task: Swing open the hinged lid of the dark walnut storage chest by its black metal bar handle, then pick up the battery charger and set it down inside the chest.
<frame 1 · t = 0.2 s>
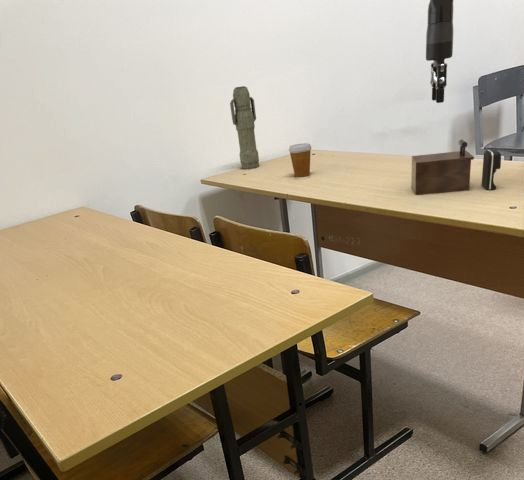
hand: (437, 101, 163), 27 cm above the table, tool pointing down, fingers open, 8 cm apart
stone idol statue: (250, 167, 255), on the table
lid: (441, 151, 172), point 12 cm above the table, hinge at 0.0°
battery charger: (490, 188, 171), on the table
disposable coffee cup: (302, 175, 224), on the table
chest: (439, 188, 177), on the table
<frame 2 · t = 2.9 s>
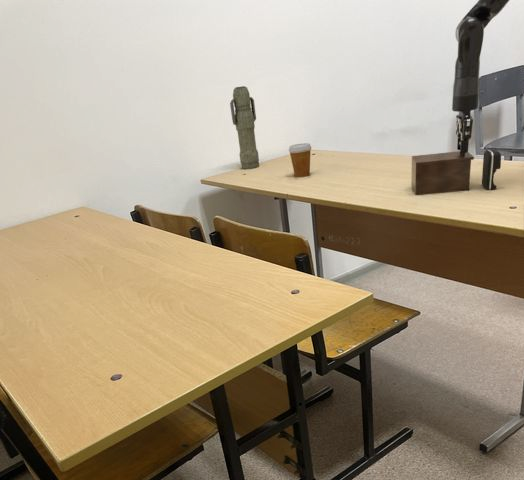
hand: (462, 150, 171), 11 cm above the table, tool pointing down, fingers closed on lid, 5 cm apart
lid: (441, 151, 172), point 12 cm above the table, hinge at 0.0°, touching gripper
everything else where it was.
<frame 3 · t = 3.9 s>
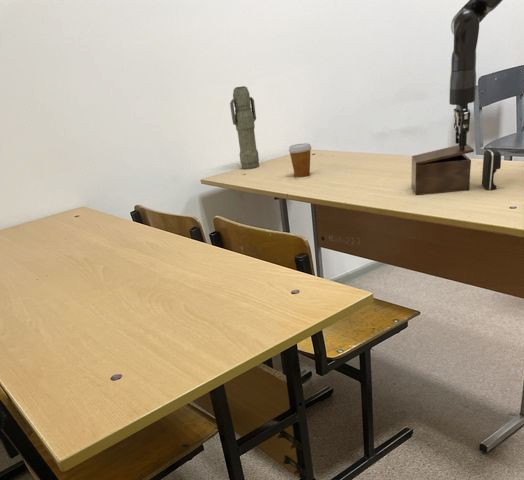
hand: (460, 144, 170), 13 cm above the table, tool pointing down, fingers closed on lid, 5 cm apart
lid: (440, 147, 171), point 13 cm above the table, hinge at 7.6°, touching gripper
everything else where it was.
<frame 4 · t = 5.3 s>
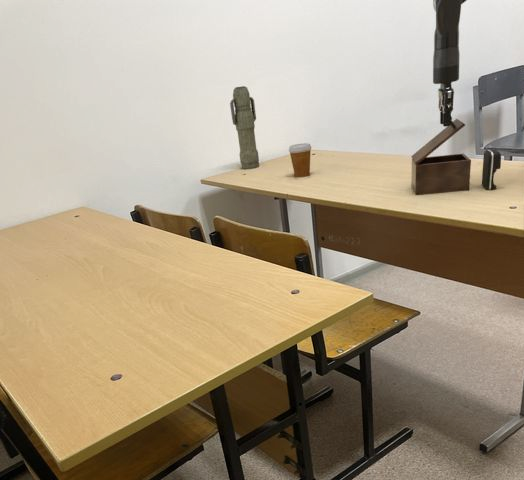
hand: (445, 124, 168), 20 cm above the table, tool pointing down, fingers closed on lid, 5 cm apart
lid: (433, 136, 170), point 17 cm above the table, hinge at 35.9°, touching gripper
everything else where it was.
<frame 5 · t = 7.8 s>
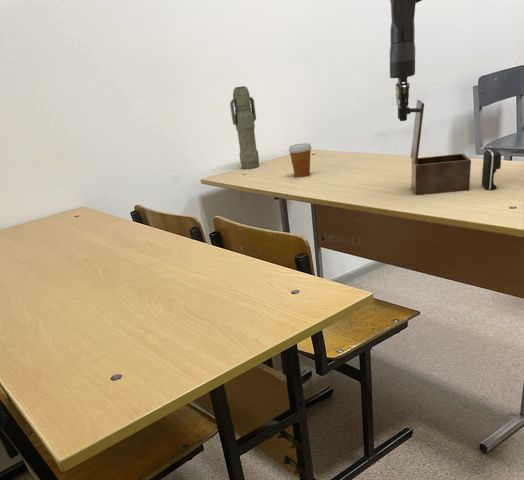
hand: (402, 119, 169), 23 cm above the table, tool pointing down, fingers closed on lid, 5 cm apart
lid: (410, 132, 170), point 19 cm above the table, hinge at 84.2°, touching gripper
everything else where it was.
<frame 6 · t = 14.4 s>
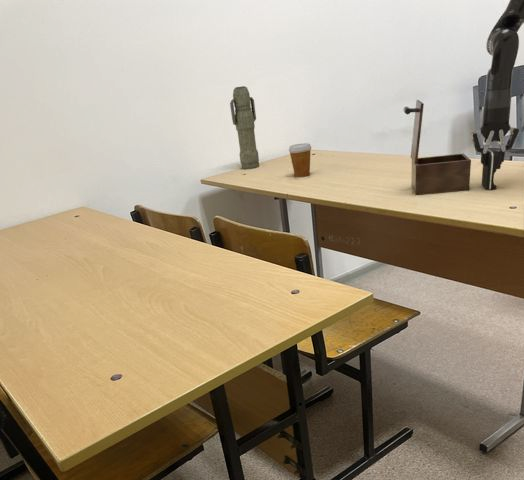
hand: (492, 164, 167), 7 cm above the table, tool pointing down, fingers closed on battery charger, 4 cm apart
lid: (410, 132, 170), point 19 cm above the table, hinge at 84.7°
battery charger: (490, 188, 171), on the table, touching gripper
everything else where it was.
when the fingers open (8 cm above the table, at t = 21.6 s): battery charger stays where it is, resting on chest.
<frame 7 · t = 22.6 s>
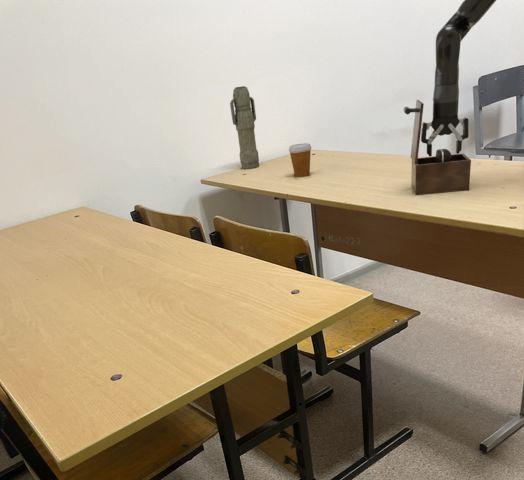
hand: (443, 154, 172), 11 cm above the table, tool pointing down, fingers open, 8 cm apart
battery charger: (442, 186, 177), point 1 cm above the table, touching chest
everything else where it was.
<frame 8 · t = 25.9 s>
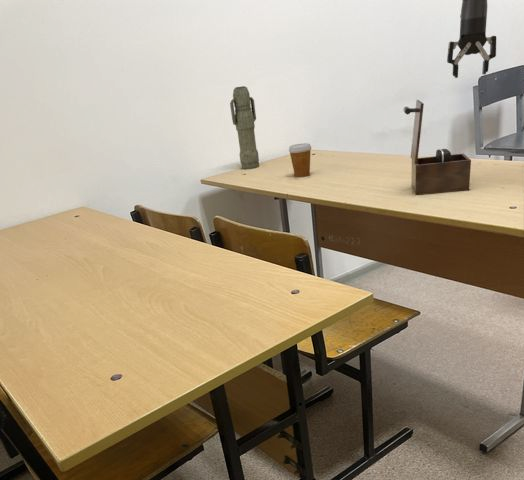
hand: (470, 76, 170), 32 cm above the table, tool pointing down, fingers open, 8 cm apart
nothing on the table moved.
at the end: lid at +85° (first picture: +0°); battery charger inside the target area in the chest (1.0 cm from its centre), point 0.7 cm above the chest's base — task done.
